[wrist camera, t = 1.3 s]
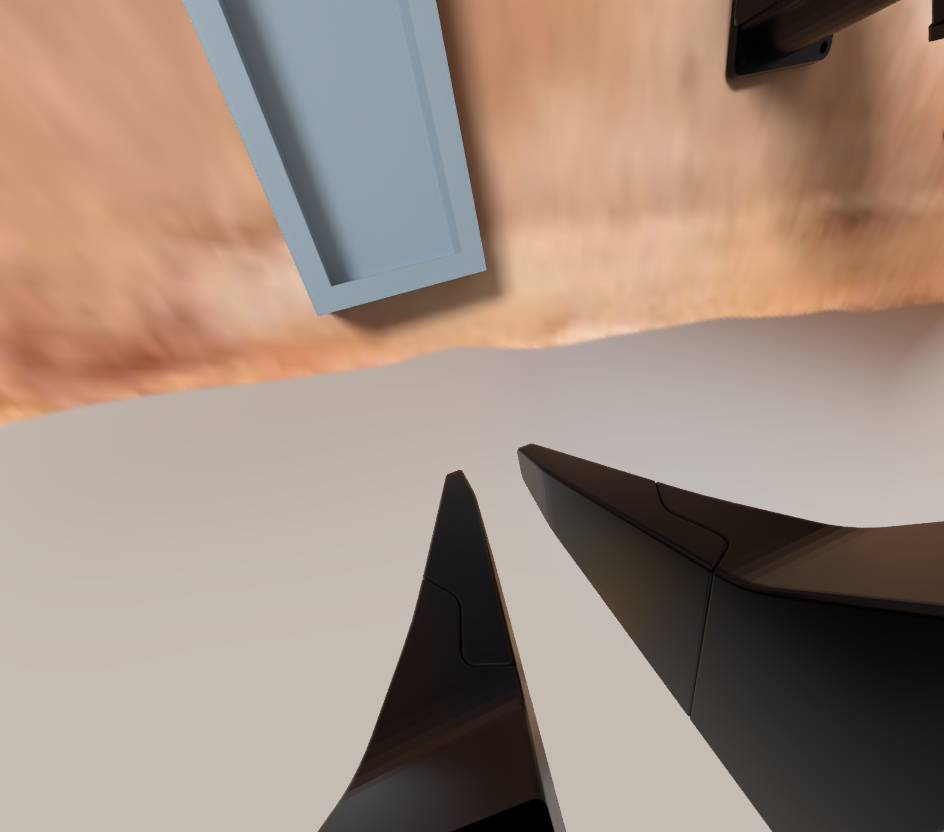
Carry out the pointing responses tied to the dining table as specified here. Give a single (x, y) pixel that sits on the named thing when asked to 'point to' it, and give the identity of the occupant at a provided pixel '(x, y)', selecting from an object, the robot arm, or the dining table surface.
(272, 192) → the grey shell
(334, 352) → the dining table surface
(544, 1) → the dining table surface
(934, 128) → the dining table surface
